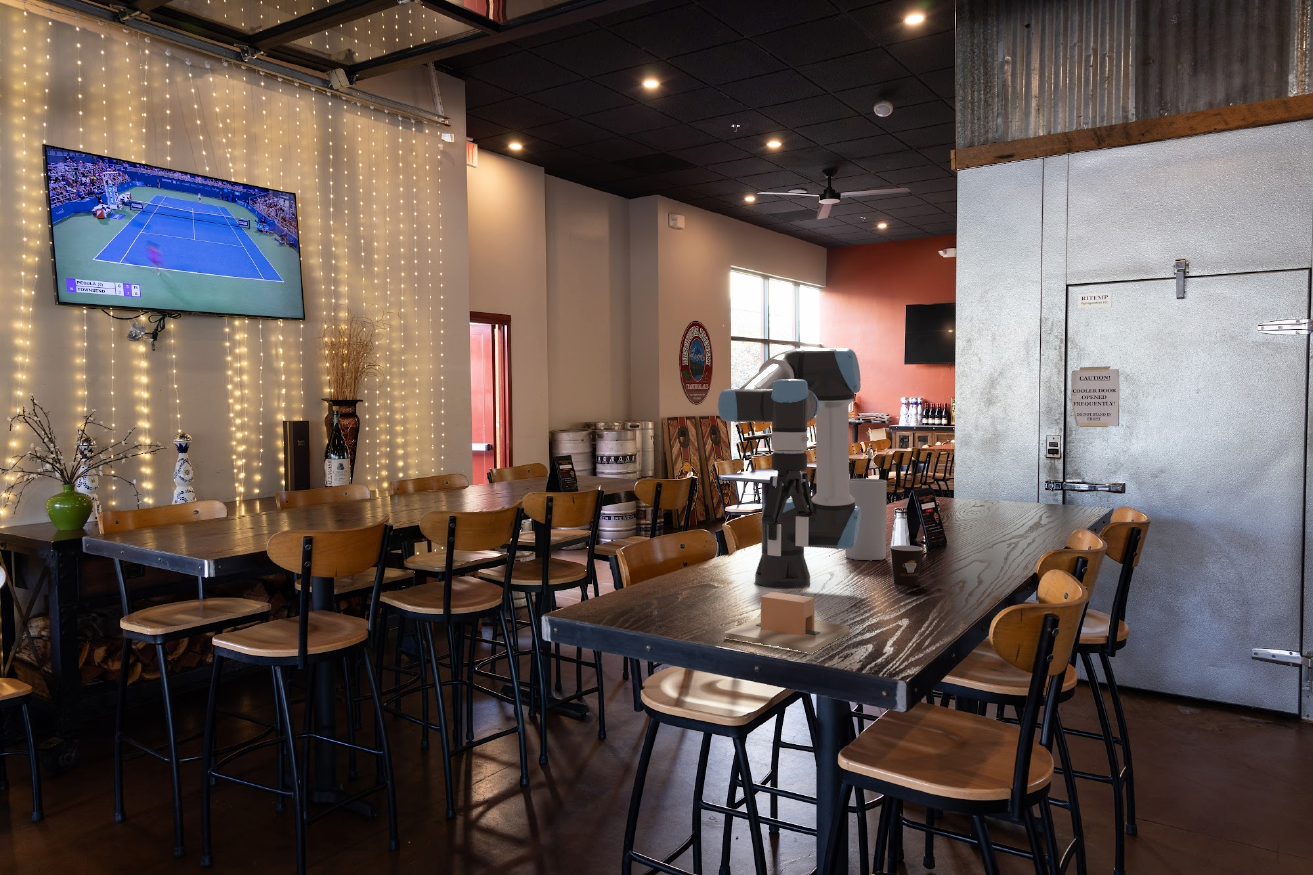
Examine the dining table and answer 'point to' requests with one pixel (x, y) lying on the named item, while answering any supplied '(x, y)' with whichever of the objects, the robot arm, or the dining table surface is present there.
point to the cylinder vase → (869, 519)
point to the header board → (789, 635)
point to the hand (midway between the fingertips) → (788, 550)
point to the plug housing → (787, 613)
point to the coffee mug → (907, 564)
